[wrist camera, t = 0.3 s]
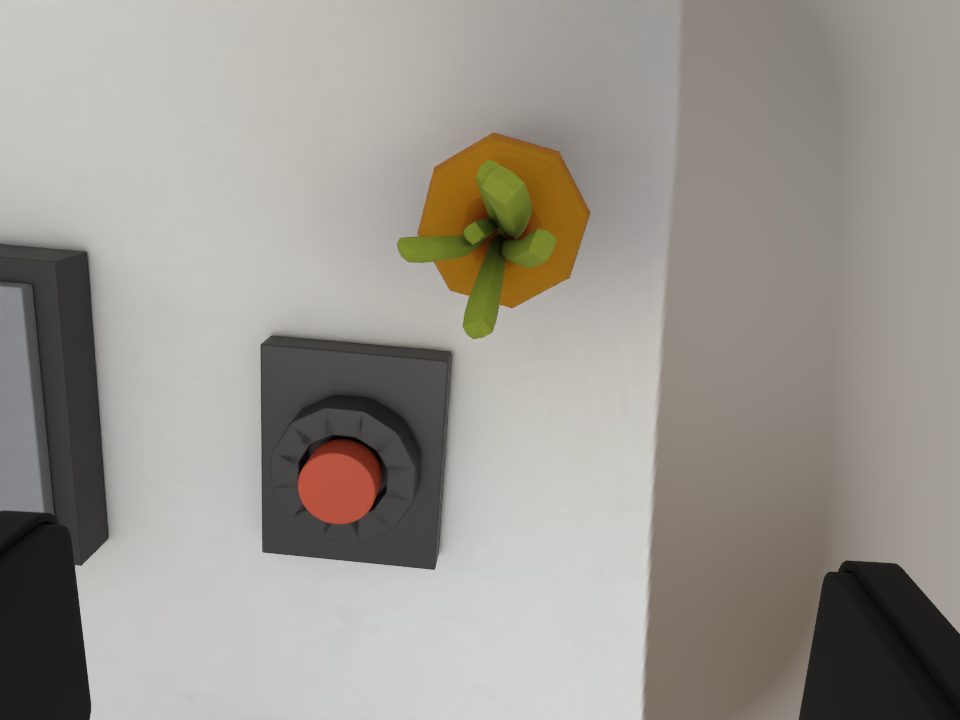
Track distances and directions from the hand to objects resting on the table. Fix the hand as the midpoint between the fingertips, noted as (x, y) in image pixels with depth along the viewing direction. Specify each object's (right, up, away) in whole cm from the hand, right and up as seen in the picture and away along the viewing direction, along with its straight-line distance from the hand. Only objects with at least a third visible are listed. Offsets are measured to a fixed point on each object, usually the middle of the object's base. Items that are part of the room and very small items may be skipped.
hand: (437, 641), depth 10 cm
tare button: (-5, -1, +24) cm, 24 cm away
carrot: (+2, +10, +22) cm, 25 cm away
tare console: (-5, -1, +26) cm, 27 cm away
